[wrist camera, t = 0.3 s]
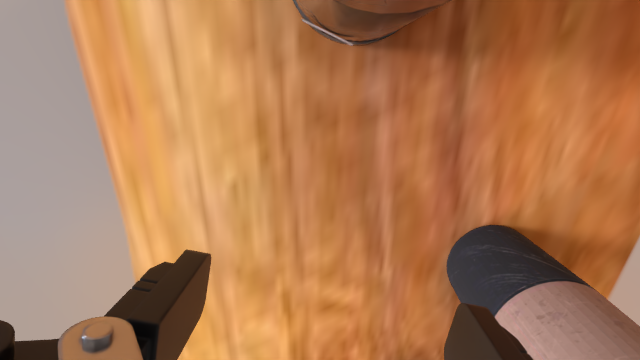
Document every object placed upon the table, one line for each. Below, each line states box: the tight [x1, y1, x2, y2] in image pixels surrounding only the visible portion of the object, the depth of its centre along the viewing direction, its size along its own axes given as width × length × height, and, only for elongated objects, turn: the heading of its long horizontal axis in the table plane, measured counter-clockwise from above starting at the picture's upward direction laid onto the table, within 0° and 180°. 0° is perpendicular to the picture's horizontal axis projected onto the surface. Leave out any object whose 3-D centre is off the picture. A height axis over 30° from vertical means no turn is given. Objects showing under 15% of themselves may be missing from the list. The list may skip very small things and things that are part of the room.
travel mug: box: [447, 225, 640, 360], centre depth 21 cm, size 8×8×20 cm
